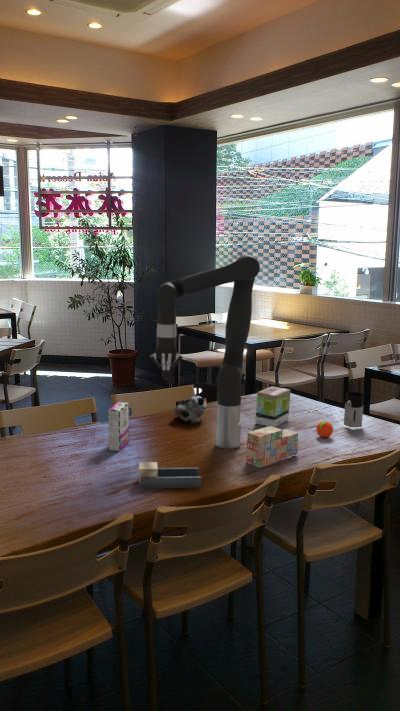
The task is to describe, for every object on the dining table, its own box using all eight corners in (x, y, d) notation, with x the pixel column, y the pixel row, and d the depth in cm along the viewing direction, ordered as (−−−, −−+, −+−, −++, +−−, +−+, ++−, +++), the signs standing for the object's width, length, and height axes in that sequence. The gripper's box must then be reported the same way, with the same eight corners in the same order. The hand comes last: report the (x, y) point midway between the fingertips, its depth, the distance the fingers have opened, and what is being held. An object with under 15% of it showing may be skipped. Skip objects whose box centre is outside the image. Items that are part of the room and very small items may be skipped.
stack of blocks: (285, 451, 237) (286, 421, 235) (297, 456, 233) (299, 425, 230) (245, 463, 224) (247, 431, 221) (257, 468, 219) (259, 436, 217)
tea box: (275, 428, 265) (276, 395, 262) (254, 424, 270) (256, 391, 267) (289, 419, 278) (291, 388, 275) (269, 416, 283) (270, 385, 280)
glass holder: (365, 426, 272) (368, 393, 269) (354, 434, 260) (357, 400, 257) (346, 422, 276) (348, 390, 273) (335, 430, 264) (337, 397, 261)
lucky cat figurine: (179, 413, 282) (194, 388, 280) (200, 427, 277) (215, 401, 276) (167, 413, 268) (182, 386, 266) (188, 427, 263) (204, 400, 262)
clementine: (326, 442, 249) (328, 425, 248) (311, 438, 253) (312, 421, 252) (335, 437, 256) (336, 421, 254) (320, 433, 260) (321, 417, 258)
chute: (198, 477, 210) (198, 467, 209) (201, 487, 201) (201, 477, 200) (140, 478, 207) (140, 468, 207) (140, 488, 199) (140, 478, 198)
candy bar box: (117, 441, 243) (117, 401, 240) (129, 442, 242) (129, 402, 239) (107, 450, 232) (107, 409, 229) (120, 451, 231) (120, 410, 228)
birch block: (156, 475, 206) (156, 462, 205) (157, 483, 201) (157, 468, 200) (139, 476, 206) (139, 462, 205) (139, 483, 200) (139, 469, 199)
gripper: (182, 333, 237) (181, 376, 241) (148, 333, 236) (148, 376, 239) (184, 337, 230) (183, 381, 233) (149, 336, 228) (149, 381, 232)
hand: (165, 379), depth 236 cm, fingers closed
